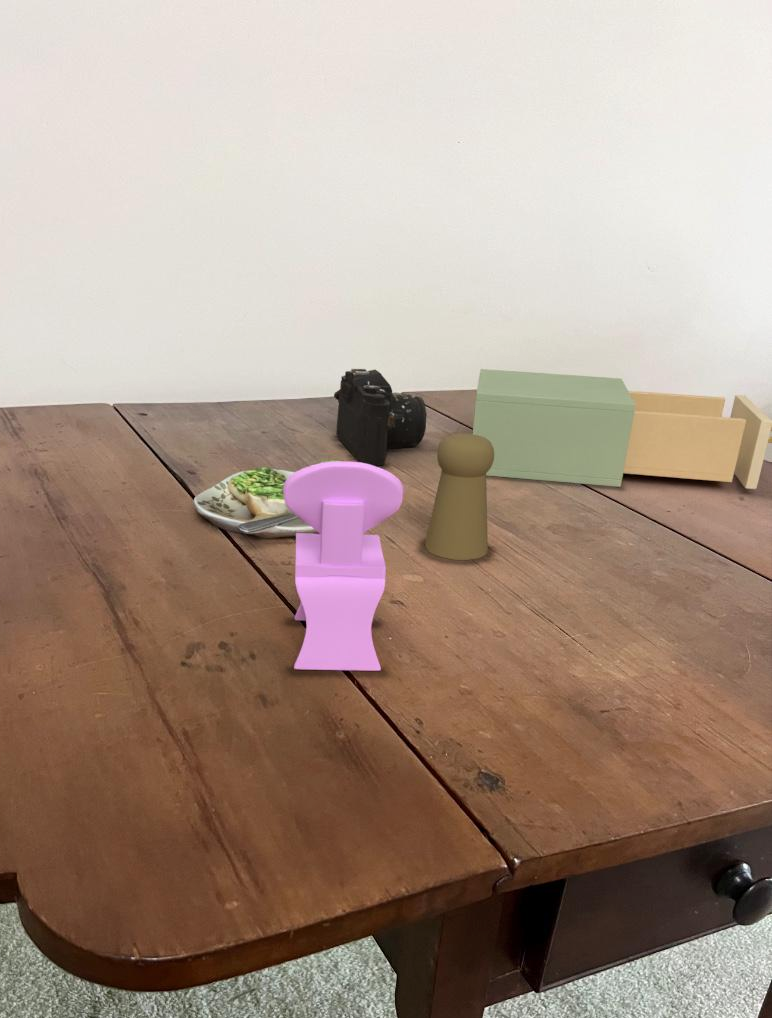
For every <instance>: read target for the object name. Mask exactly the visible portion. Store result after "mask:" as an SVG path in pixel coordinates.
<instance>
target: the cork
mask: <svg viewBox="0 0 772 1018" xmlns="http://www.w3.org/2000/svg"><path fill="white" fill-rule="evenodd" d="M436 458H437V463H438V466H439V467H440V469H441V473H440V476H439V481H438V486H437V490H436V494H435V499H434V502H433V503H434V504H433V507H432V512H431V516H430V520H429V524H428V525H429V526H428V528H427V529H428V530H427V533H426V538H425V543H424V547H425V549H426V551H428V553H430V554H432V555H434V556H436V557H439V558H443V559H447V560H453V561H456V560H457V561H470V560H476V559H481V558H483V557H485V556H486V555H487V554H488V551H489V543H488V542H489V539H488V538H489V537H488V497H487V495H488V494H487V476H486V473H487V472H488V471H489V469H490V468H491V466H492V464H493V461H494V448H493V446H492V444H491V442H490V441H489V440H488V439H486V438H485V437H482V436H478V435H474V434H472V433H453V434H449V435H447V436H445V437H444V438H443V439H442V440H441V441H440V443H439V444H438V447H437V453H436Z"/></svg>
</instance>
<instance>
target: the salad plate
mask: <svg viewBox="0 0 772 1018" xmlns="http://www.w3.org/2000/svg"><path fill="white" fill-rule="evenodd" d="M334 461H343V462H346V461H345V460H341V459H327V460H322V461H321V462H318V463H317V464H320V463H325V462H334ZM295 472H296V471H290V470H285V469H277V468H272V467H270V466H267V467H265V466H262V467H261V468H250V469H249V470H242V471H240V472H235V473H234V474H231V475H229V476H228V477H226V478H225V479H223V480H221V481H220V482H218V483H217V484H215V485H212V486H211V488H208V489H205V490H204V491H202V492H200V493H199V494H197V495H196V496H195V497H194V498H193V508H194V509H195V510H196V511H197V513H198V514H199V515H201V517H203V518H205V519H206V520H208V521H209V522H210V523H212V524H213V525H214V526H215V527H217V528H219V529H222V530H224V531H228V532H234V533H239V534H245V535H252V536H256V537H260V538H265V539H273V538H285V537H287V538H288V537H289V538H290V537H296V533H311V534H319V533H318V532H317V531H316V530H315V529H314V528H312V527H311V526H309V525H308V524H306V523H305V522H303V521H301V519H300V518H299V517H297V516H296V515H295V514H293V513H292V512H291V511H290V510H289V509H288V507H287V506H286V504H285V501H284V496H283V486H284V483H285V481H286V480H287V478H288V477H289V476H290V475H292V474H293V473H295Z"/></svg>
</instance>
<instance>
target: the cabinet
mask: <svg viewBox="0 0 772 1018" xmlns="http://www.w3.org/2000/svg"><path fill="white" fill-rule="evenodd" d="M628 391H629V390H628V388H627V387H626V384H625V382H624V380H623V379H622V378H620V377H604V376H591V375H578V374H577V375H576V374H561V373H544V372H531V371H518V370H517V371H516V370H502V369H488V368H486V369H484V368H480V371H479V377H478V382H477V388H476V397H475V404H474V415H473V424H472V433H471V434H474V435H478V436H482V437H485V438H486V439H488V440H489V441H490V442H491V444H492V446H493V448H494V461H493V464H492V466H491V468H490V469H489V471H488V472H487V473H486V477H497V478H509V479H521V480H532V481H544V482H545V481H546V482H557V483H567V484H568V483H569V484H581V485H592V486H604V487H616V488H621V487H622V481H623V477H624V473H623V471H624V466H625V460H626V455H627V449H628V443H629V438H630V432H631V427H632V421H633V415H634V410H635V403H634V401H633V399H632V397H631V395H630V394H629V392H628Z"/></svg>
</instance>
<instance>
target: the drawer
mask: <svg viewBox="0 0 772 1018" xmlns="http://www.w3.org/2000/svg"><path fill="white" fill-rule="evenodd" d="M628 392H629V394H630V395H631V397H632V399H633V401H634V403H635V410H634V415H633V421H632V427H631V432H630V438H629V443H628V449H627V455H626V460H625V466H624V471H623V474H628V475H639V476H652V477H665V478H674V479H675V478H676V479H677V478H678V479H688V480H689V479H690V480H702V481H712V482H713V481H714V482H724V483H732V482H733V479H734V475H735V476H736V477H737V479H738V480H739V482H740V483H741V484H742V485H743V487H744V488H745V489H750V490H757V488H758V485H759V480H760V476H761V472H762V468H763V464H764V460H765V456H766V453H767V452H766V451H767V447H768V444H772V436H770V435H771V432H772V419H771V418H770V417H768V416H767V414H766V413H764V412H763V411H762V410H761V409H760V408H759V407H758V406H757V405H756V404H755V403H754V402H753V401H751V399H749V398H748V396H746V395H743V394H742V395H741V394H735V395H734V399H733V403H732V407H731V413H730V416H729V417H727V416H726V417H725V416H723V411H724V407H725V403H726V397H723V396H708V395H707V396H706V395H696V394H694V395H693V394H682V393H681V394H680V393H664V392H653V391H651V392H649V391H637V390H636V391H635V390H628Z"/></svg>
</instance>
